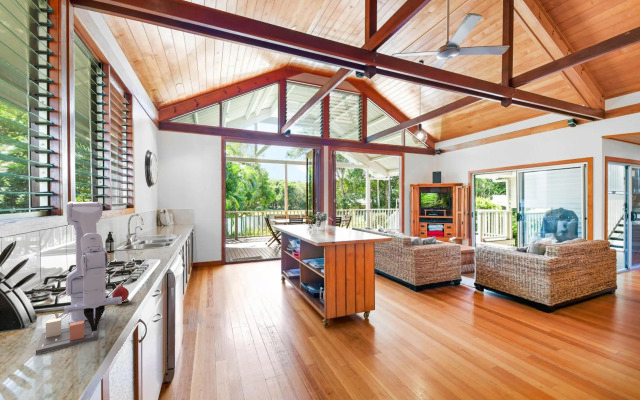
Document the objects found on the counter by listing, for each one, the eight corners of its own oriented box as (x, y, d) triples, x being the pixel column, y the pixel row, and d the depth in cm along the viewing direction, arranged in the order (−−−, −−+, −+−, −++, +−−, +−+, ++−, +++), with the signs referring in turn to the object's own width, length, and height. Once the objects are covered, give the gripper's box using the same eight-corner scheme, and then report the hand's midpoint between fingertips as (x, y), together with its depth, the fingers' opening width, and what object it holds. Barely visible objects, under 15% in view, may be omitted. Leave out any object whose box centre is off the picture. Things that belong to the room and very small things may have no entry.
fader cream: (46, 334, 91) (46, 320, 90) (61, 331, 93) (61, 317, 93) (45, 337, 88) (45, 323, 88) (60, 334, 91) (60, 320, 91)
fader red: (70, 337, 89) (70, 323, 89) (84, 334, 91) (84, 320, 91) (69, 340, 87) (69, 326, 87) (84, 337, 89) (84, 323, 89)
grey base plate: (42, 337, 91) (42, 333, 91) (97, 325, 100) (97, 321, 100) (35, 354, 81) (35, 350, 81) (97, 339, 90) (97, 335, 90)
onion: (120, 306, 117) (120, 287, 117) (108, 305, 119) (108, 286, 118) (132, 301, 123) (132, 283, 123) (121, 300, 124) (121, 282, 124)
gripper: (63, 296, 84) (63, 341, 84) (122, 287, 93) (122, 328, 93) (65, 290, 89) (65, 332, 89) (121, 282, 98) (120, 320, 98)
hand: (94, 330), depth 92 cm, fingers closed
